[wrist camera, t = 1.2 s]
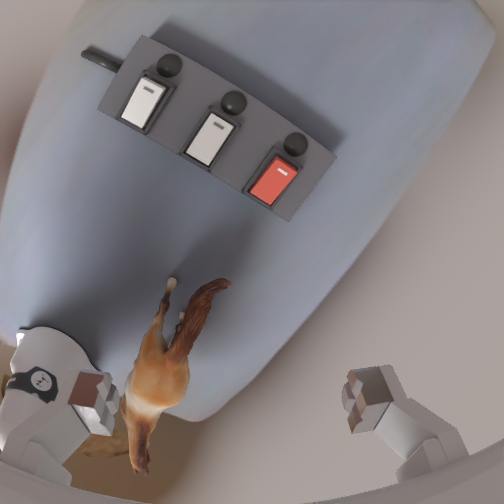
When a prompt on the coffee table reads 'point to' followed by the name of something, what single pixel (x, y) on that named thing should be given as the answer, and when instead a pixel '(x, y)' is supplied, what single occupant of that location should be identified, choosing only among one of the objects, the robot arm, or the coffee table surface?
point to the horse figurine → (162, 369)
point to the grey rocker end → (143, 102)
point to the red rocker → (273, 180)
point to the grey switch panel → (226, 108)
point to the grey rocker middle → (209, 139)
